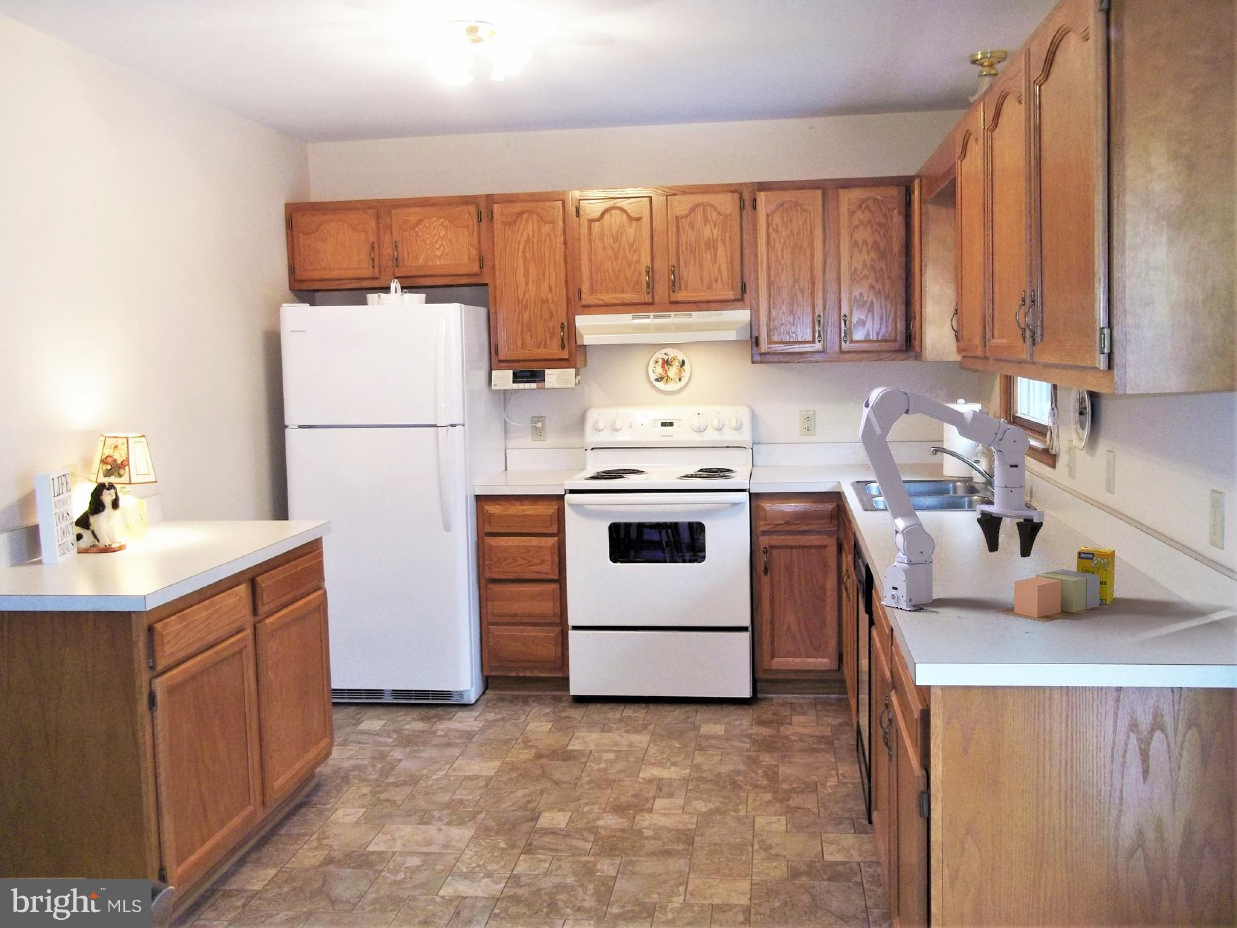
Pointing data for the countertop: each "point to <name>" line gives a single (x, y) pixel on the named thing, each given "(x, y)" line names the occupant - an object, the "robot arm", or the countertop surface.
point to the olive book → (1070, 591)
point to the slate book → (1087, 586)
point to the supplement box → (1099, 569)
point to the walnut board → (1049, 617)
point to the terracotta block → (1037, 596)
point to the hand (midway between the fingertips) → (1009, 554)
